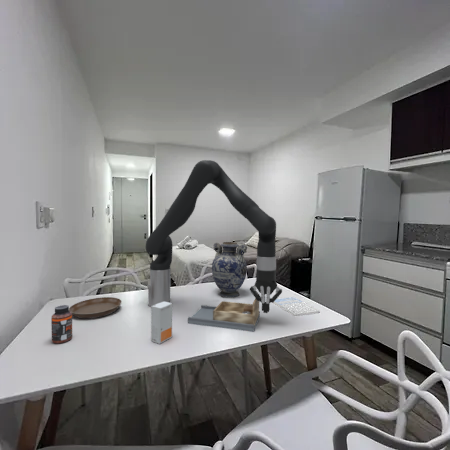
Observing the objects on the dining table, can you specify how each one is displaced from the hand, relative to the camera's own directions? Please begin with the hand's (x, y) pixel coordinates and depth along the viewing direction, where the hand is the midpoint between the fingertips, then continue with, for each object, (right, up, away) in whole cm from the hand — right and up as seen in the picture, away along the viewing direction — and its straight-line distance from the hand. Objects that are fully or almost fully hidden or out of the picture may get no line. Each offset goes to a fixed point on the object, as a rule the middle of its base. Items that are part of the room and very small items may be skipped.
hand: (265, 312), depth 100 cm
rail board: (-16, -5, +5) cm, 17 cm away
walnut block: (-6, -3, +5) cm, 8 cm away
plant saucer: (-72, -5, +14) cm, 74 cm away
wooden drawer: (-11, -3, +3) cm, 12 cm away
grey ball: (-7, -3, -1) cm, 8 cm away
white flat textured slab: (+17, -5, +20) cm, 26 cm away
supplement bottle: (-71, -5, -13) cm, 72 cm away
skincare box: (-37, -5, -12) cm, 40 cm away
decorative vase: (-13, -4, +38) cm, 41 cm away
